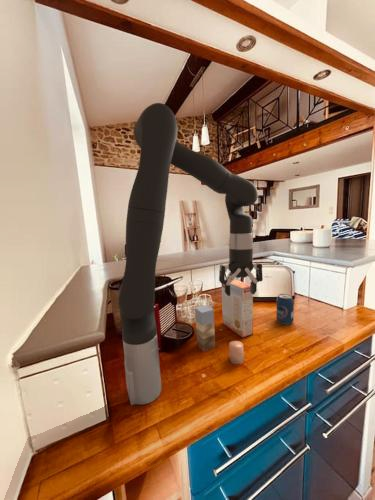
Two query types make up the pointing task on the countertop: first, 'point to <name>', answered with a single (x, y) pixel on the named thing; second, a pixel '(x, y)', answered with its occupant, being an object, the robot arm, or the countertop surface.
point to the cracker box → (238, 308)
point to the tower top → (204, 315)
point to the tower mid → (205, 330)
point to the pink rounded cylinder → (236, 352)
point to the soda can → (285, 308)
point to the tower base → (206, 342)
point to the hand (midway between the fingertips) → (240, 294)
